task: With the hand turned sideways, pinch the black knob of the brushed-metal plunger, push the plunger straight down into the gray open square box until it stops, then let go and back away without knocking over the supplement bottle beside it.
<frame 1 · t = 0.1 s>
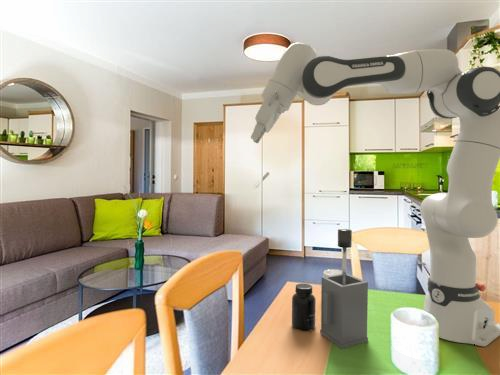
hand: (254, 141, 95), 54 cm above the table, tool tilted 30°, fingers open, 8 cm apart
supplement bottle: (303, 326, 97), on the table
gray open square box: (343, 336, 90), on the table
plunger: (344, 261, 89), point 21 cm above the table, slide at 0.0 cm
white cup: (334, 301, 115), on the table
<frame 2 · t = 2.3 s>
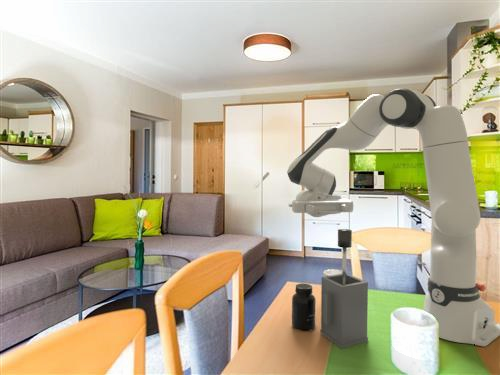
hand: (329, 209, 102), 34 cm above the table, tool horizontal, fingers open, 8 cm apart
nothing on the table moved.
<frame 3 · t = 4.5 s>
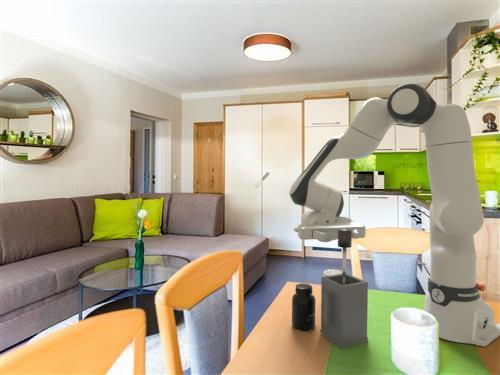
hand: (340, 236, 92), 27 cm above the table, tool horizontal, fingers open, 8 cm apart
nothing on the table moved.
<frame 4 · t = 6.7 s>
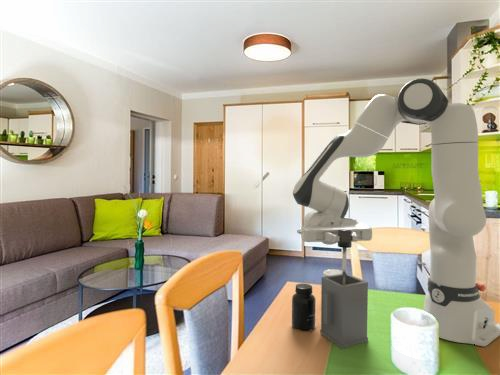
hand: (346, 238, 88), 27 cm above the table, tool horizontal, fingers closed on plunger, 4 cm apart
plunger: (344, 261, 89), point 21 cm above the table, slide at 0.0 cm, touching gripper
everything else where it was.
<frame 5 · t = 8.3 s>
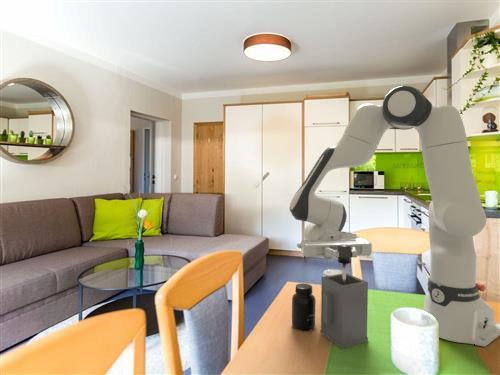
hand: (345, 254, 88), 23 cm above the table, tool horizontal, fingers closed on plunger, 4 cm apart
plunger: (344, 276, 89), point 17 cm above the table, slide at 4.3 cm, touching gripper
everything else where it was.
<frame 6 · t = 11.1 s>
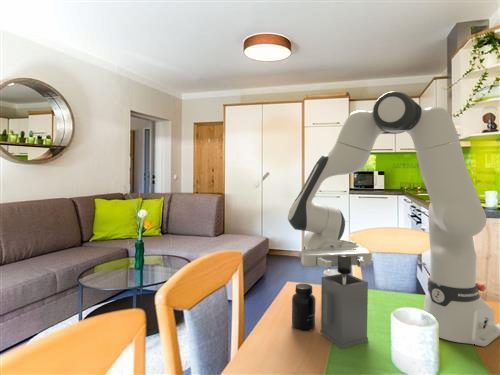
hand: (345, 264, 88), 20 cm above the table, tool horizontal, fingers open, 8 cm apart
plunger: (344, 286, 89), point 14 cm above the table, slide at 7.1 cm
everything else where it was.
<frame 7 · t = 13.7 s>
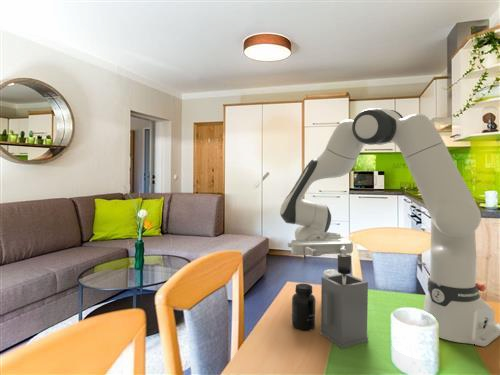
hand: (328, 252, 101), 20 cm above the table, tool horizontal, fingers open, 8 cm apart
nothing on the table moved.
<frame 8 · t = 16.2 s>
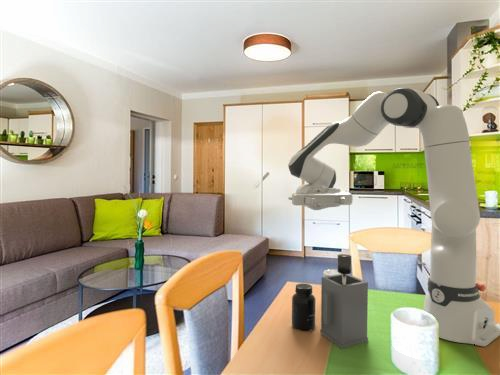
hand: (329, 201, 103), 36 cm above the table, tool horizontal, fingers open, 8 cm apart
nothing on the table moved.
at the end: plunger slide at 7.1 cm; the gripper is holding nothing; supplement bottle tilted 0° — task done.
